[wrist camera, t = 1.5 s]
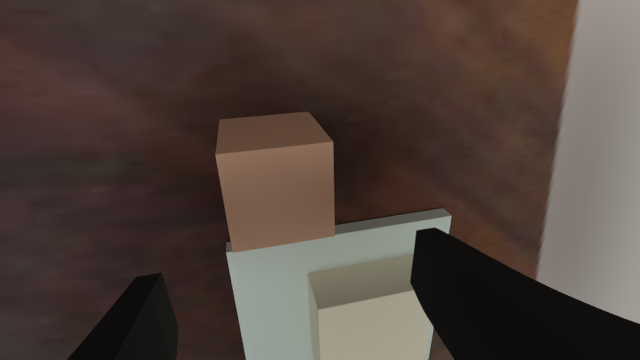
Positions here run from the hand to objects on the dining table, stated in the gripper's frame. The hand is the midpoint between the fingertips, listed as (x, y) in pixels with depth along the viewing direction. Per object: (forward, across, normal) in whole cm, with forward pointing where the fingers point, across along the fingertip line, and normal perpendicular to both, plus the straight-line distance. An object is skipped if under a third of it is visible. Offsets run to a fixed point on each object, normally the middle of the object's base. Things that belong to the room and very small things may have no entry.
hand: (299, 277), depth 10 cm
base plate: (+9, -4, +12) cm, 16 cm away
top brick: (+10, 0, 0) cm, 10 cm away
